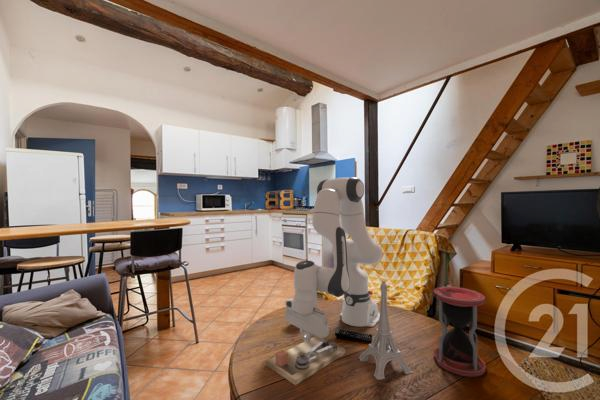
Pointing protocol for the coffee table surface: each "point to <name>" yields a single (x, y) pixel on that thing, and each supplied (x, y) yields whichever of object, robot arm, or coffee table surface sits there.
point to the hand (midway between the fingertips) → (306, 340)
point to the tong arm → (311, 352)
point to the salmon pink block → (281, 358)
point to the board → (299, 375)
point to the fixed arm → (319, 355)
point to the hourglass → (459, 331)
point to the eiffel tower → (384, 342)
